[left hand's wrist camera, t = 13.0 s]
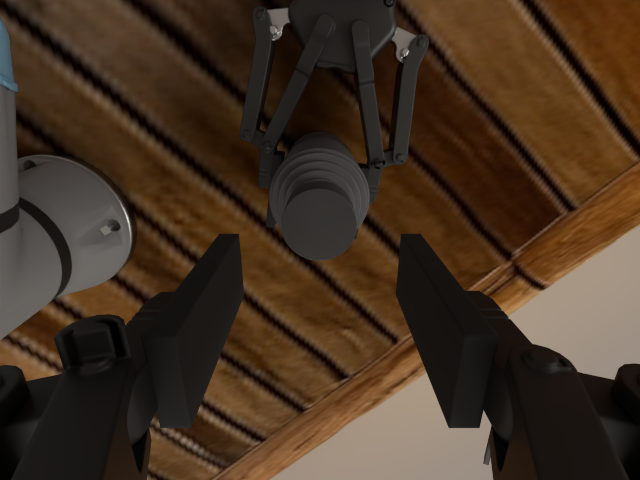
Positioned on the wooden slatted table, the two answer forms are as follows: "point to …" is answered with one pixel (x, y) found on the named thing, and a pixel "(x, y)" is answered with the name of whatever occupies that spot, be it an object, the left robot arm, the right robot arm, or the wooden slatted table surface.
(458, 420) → the left robot arm
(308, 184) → the cap
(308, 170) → the bottle
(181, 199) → the wooden slatted table surface
